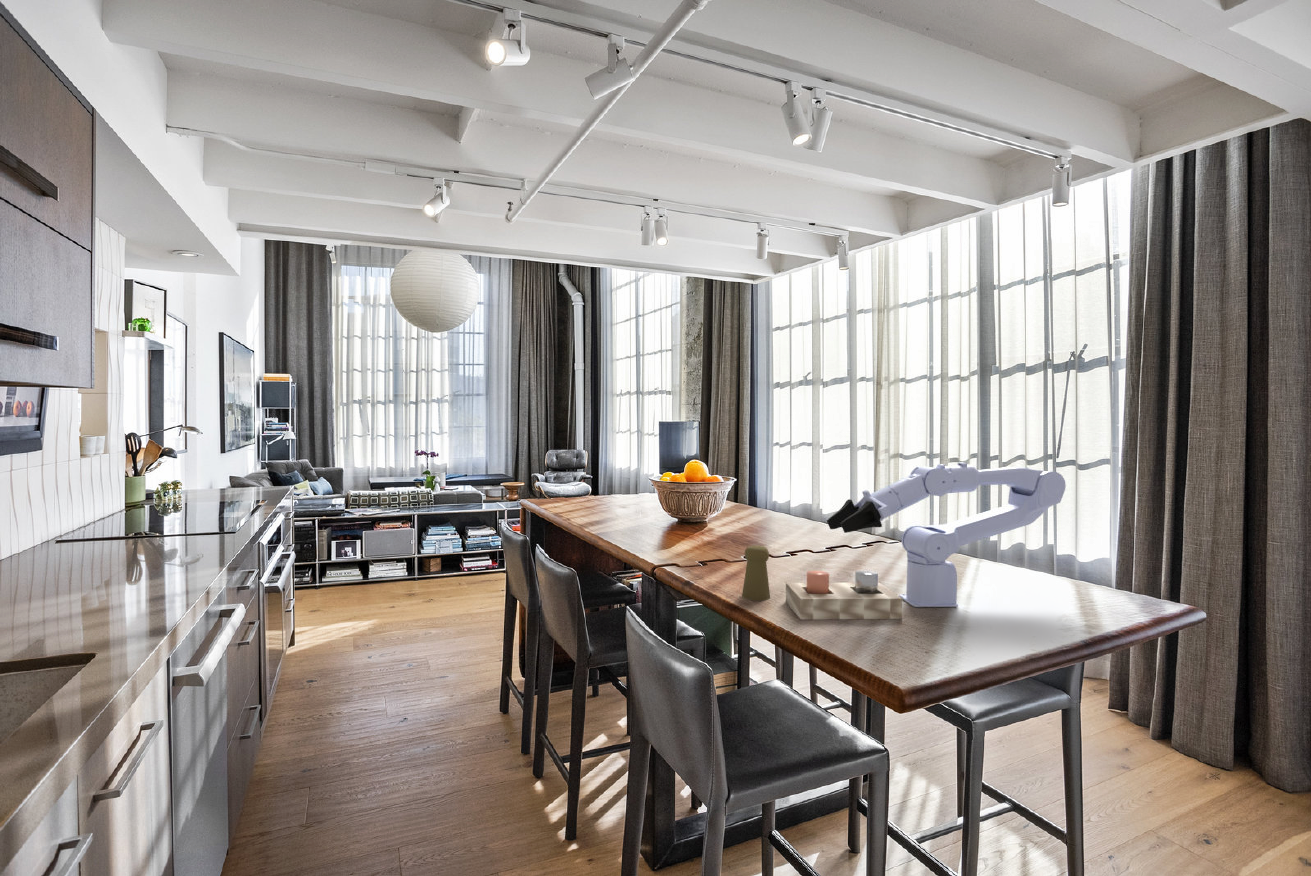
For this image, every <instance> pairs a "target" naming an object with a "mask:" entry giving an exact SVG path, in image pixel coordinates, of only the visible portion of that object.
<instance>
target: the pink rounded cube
mask: <svg viewBox="0 0 1311 876" xmlns="http://www.w3.org/2000/svg"><path fill="white" fill-rule="evenodd" d="M806 583H807V593H808V594H829V583H830V573H829V572H827V571H823V570H808V571H807V572H806Z"/></svg>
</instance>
